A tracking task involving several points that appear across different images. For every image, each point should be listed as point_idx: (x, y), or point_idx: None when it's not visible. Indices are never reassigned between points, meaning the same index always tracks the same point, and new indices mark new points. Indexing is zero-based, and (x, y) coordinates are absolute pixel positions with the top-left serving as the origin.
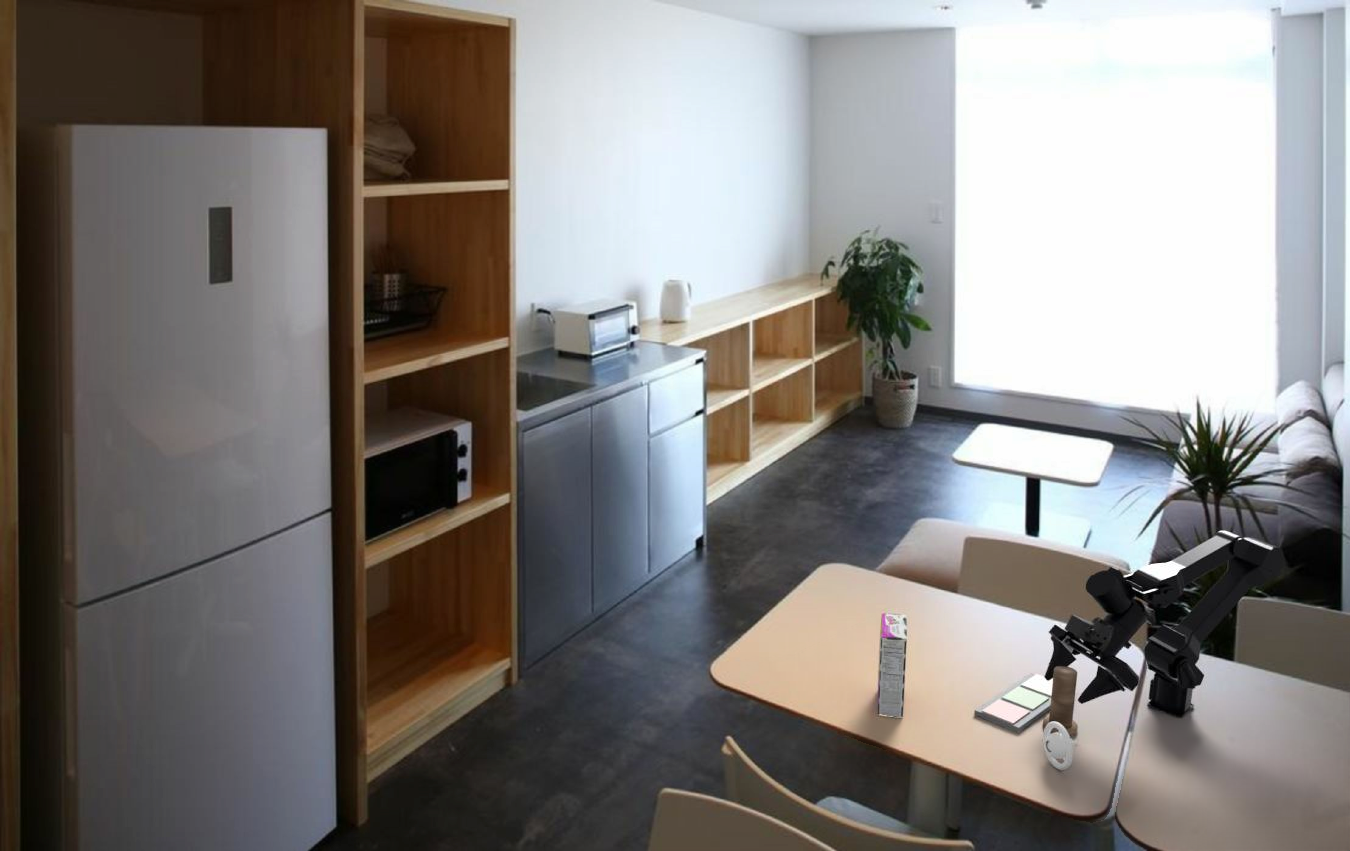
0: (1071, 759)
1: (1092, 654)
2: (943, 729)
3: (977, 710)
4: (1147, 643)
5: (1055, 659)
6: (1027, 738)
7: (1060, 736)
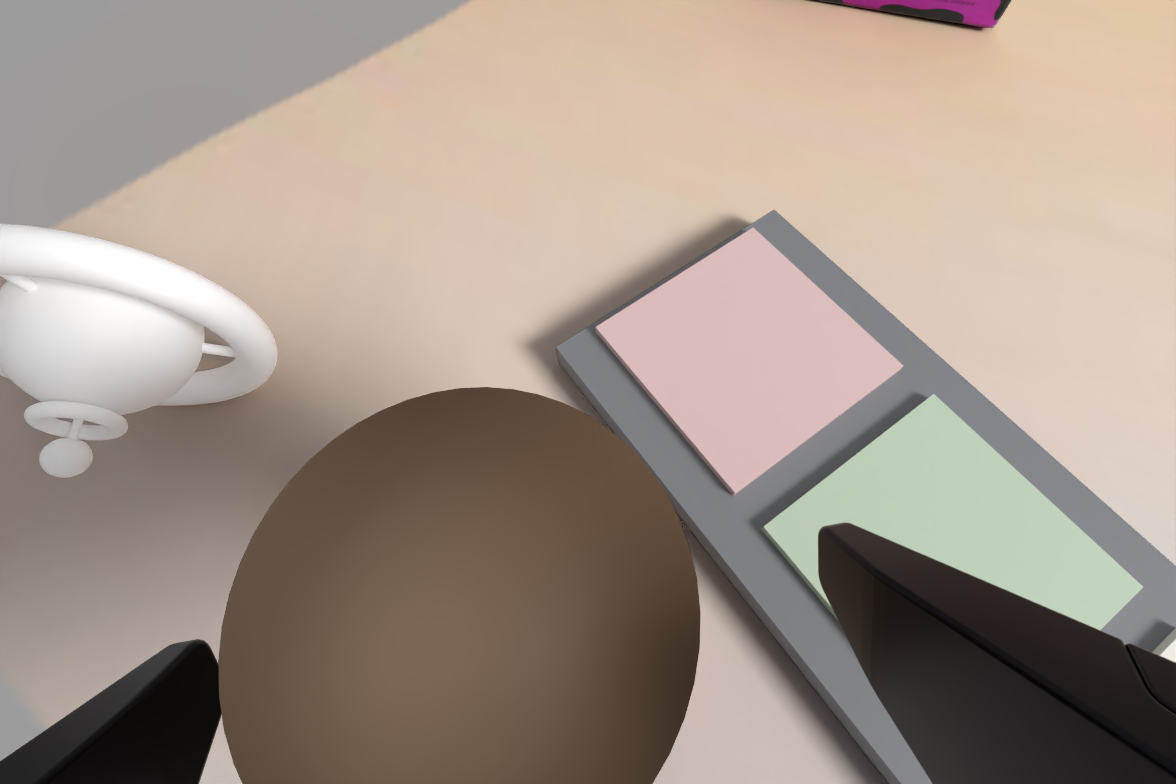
0: None
1: None
2: (640, 83)
3: (769, 221)
4: None
5: (1094, 711)
6: (492, 382)
7: (11, 288)
